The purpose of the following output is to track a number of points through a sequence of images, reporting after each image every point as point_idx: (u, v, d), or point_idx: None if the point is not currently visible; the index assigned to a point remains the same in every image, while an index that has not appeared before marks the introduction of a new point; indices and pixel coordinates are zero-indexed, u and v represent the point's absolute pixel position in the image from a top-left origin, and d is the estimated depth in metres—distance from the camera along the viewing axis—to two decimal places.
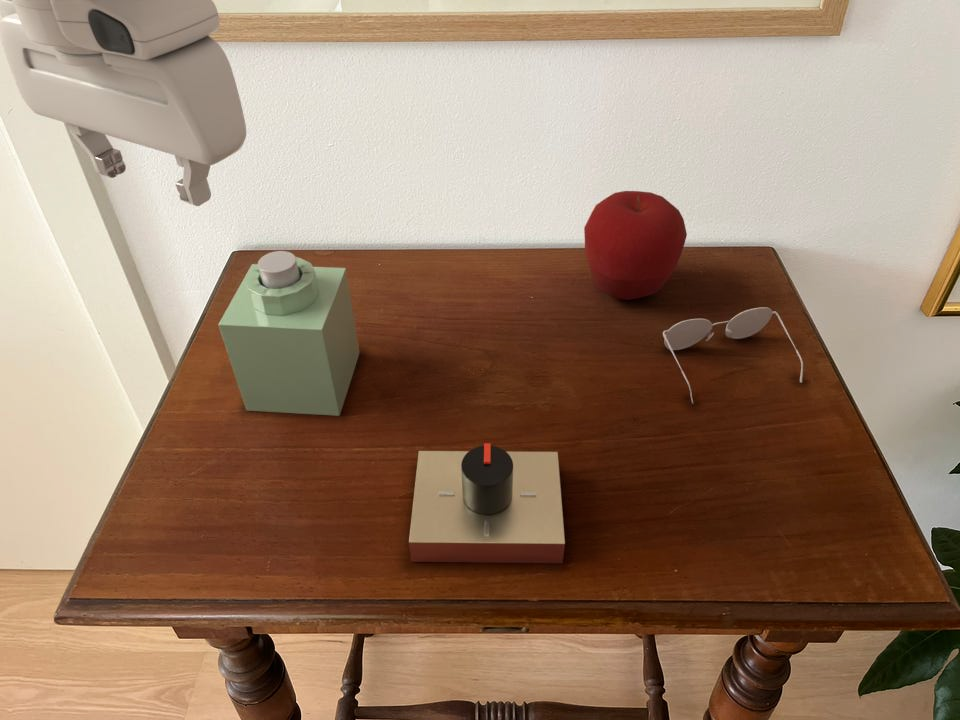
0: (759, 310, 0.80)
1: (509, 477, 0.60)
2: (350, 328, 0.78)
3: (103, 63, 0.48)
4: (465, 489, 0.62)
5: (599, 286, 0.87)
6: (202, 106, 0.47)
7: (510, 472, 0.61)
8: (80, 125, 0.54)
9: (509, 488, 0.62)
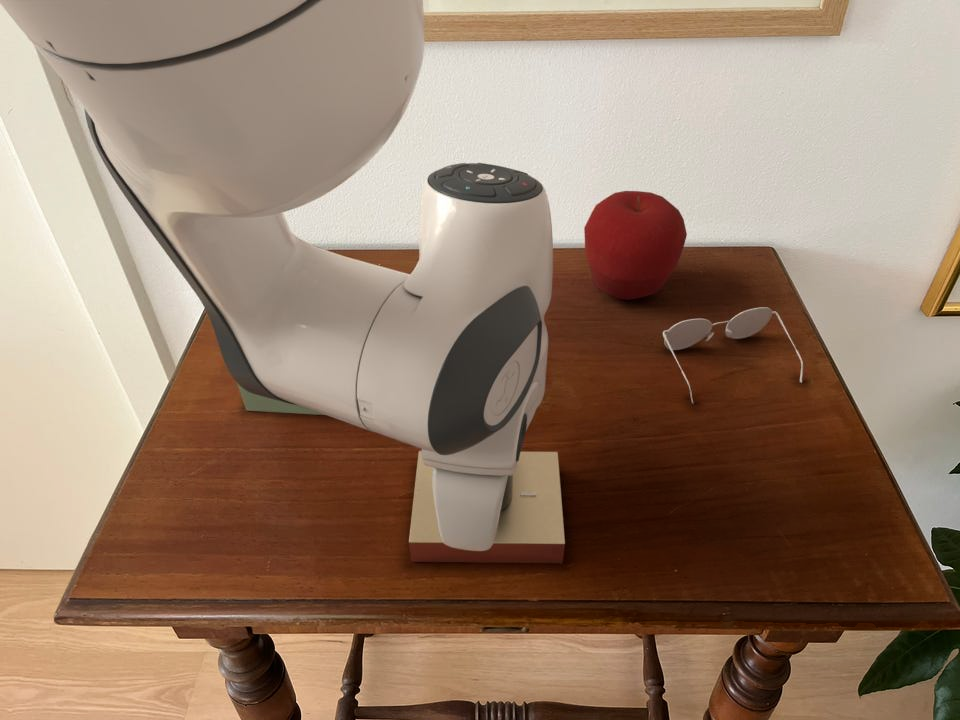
0: (759, 310, 0.80)
1: (509, 477, 0.60)
2: None
3: None
4: None
5: (599, 286, 0.87)
6: (448, 516, 0.50)
7: None
8: None
9: (509, 488, 0.62)
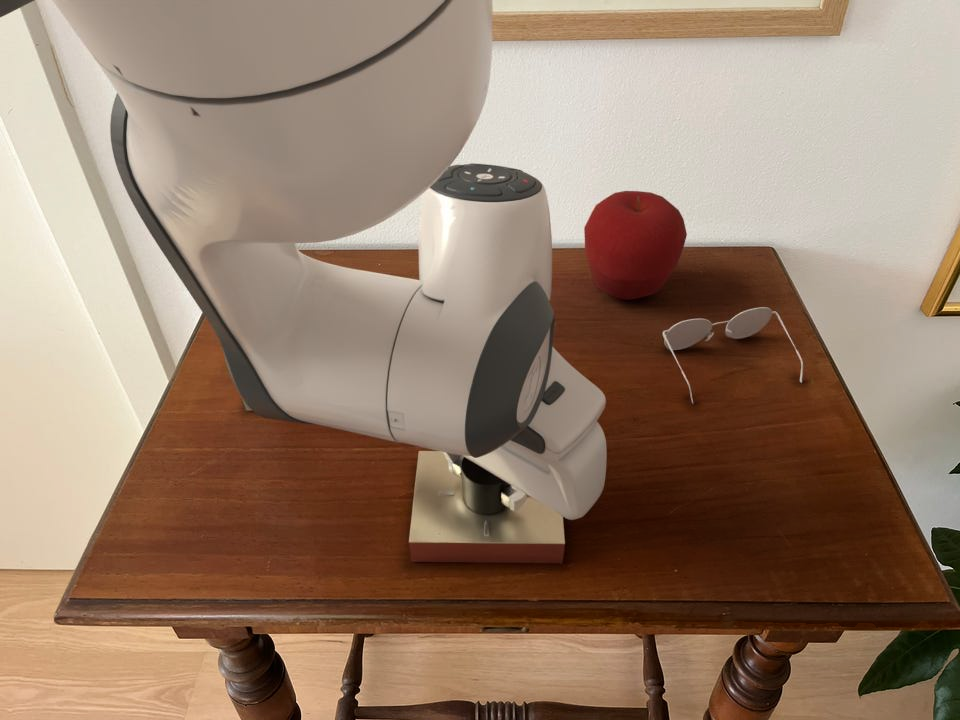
0: (759, 310, 0.80)
1: None
2: None
3: None
4: (487, 499, 0.61)
5: (599, 286, 0.87)
6: (583, 486, 0.52)
7: None
8: None
9: None
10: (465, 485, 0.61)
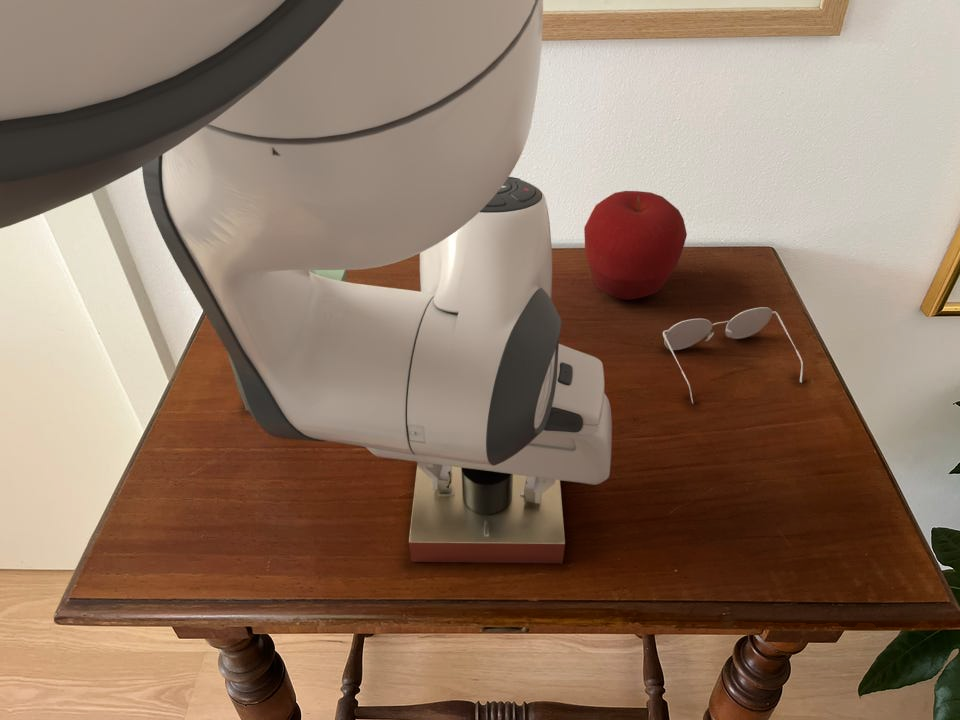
0: (759, 310, 0.80)
1: None
2: None
3: None
4: (499, 496, 0.61)
5: (599, 286, 0.87)
6: (610, 448, 0.55)
7: None
8: (440, 464, 0.59)
9: None
10: (474, 492, 0.61)
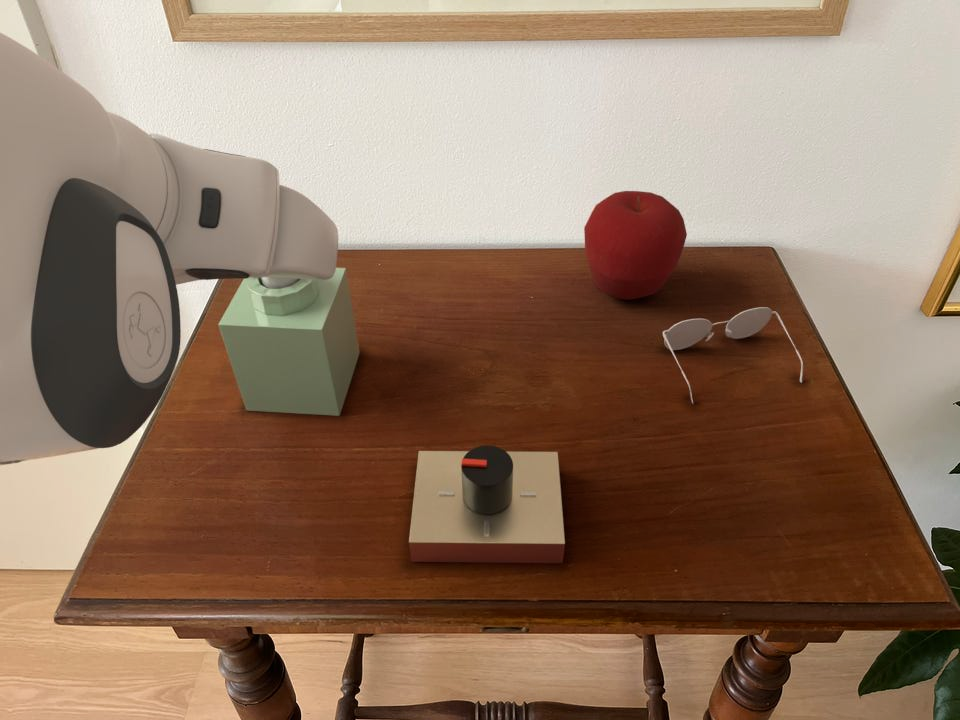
0: (759, 310, 0.80)
1: (502, 450, 0.63)
2: (350, 328, 0.78)
3: None
4: (499, 496, 0.61)
5: (599, 286, 0.87)
6: (315, 259, 0.44)
7: (498, 448, 0.63)
8: None
9: None
10: (474, 492, 0.61)
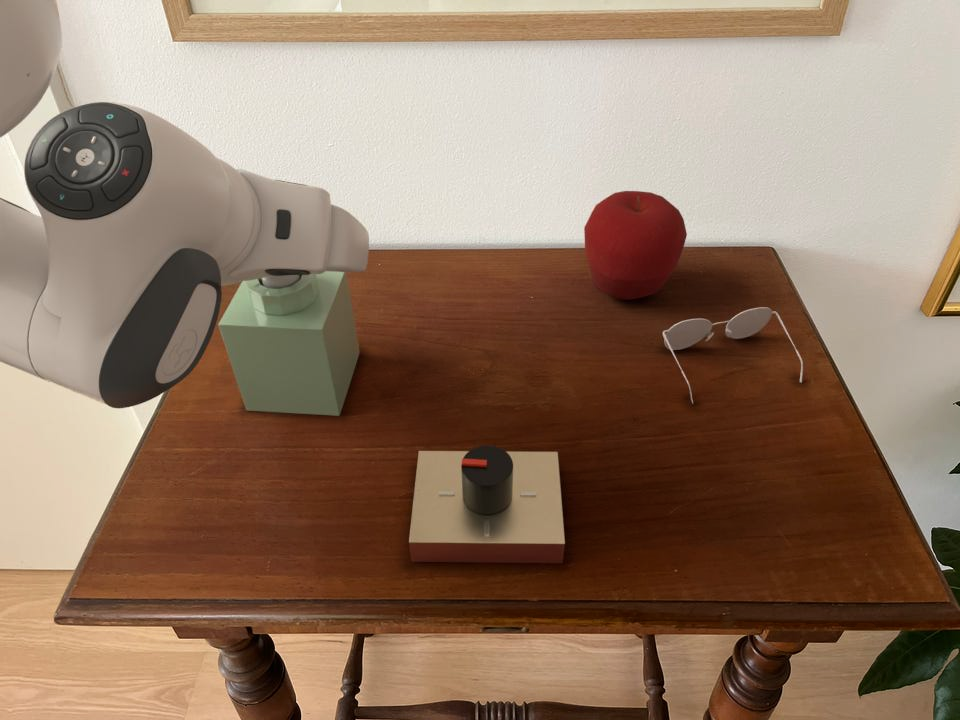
0: (759, 310, 0.80)
1: (502, 450, 0.63)
2: (350, 328, 0.78)
3: None
4: (499, 496, 0.61)
5: (599, 286, 0.87)
6: (354, 258, 0.59)
7: (498, 448, 0.63)
8: None
9: None
10: (474, 492, 0.61)
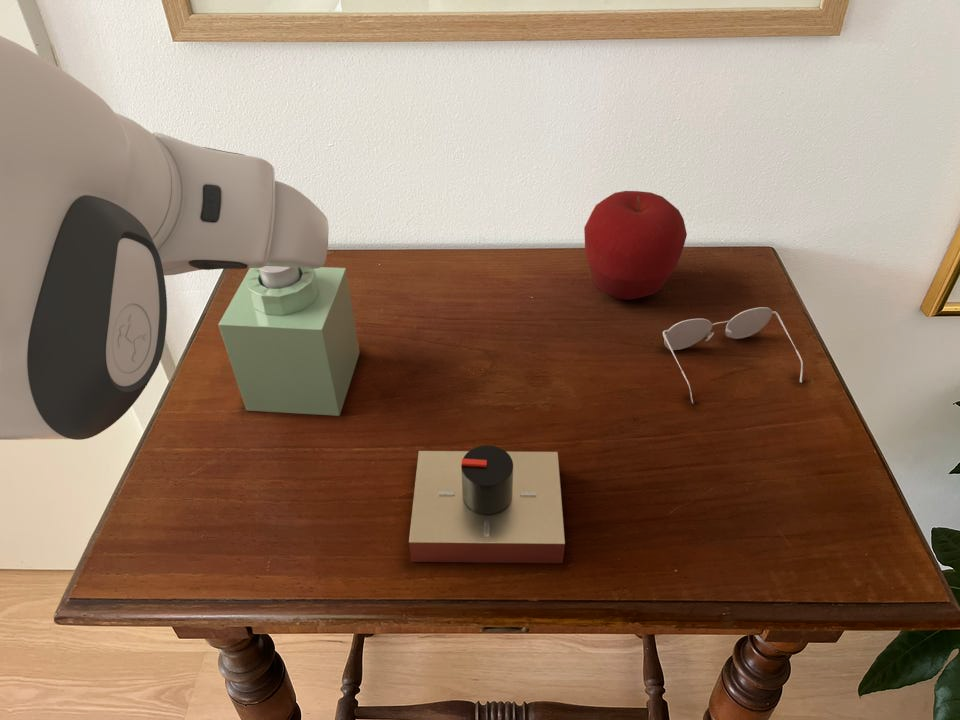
0: (759, 310, 0.80)
1: (502, 450, 0.63)
2: (350, 328, 0.78)
3: None
4: (499, 496, 0.61)
5: (599, 286, 0.87)
6: (308, 250, 0.47)
7: (498, 448, 0.63)
8: None
9: None
10: (474, 492, 0.61)
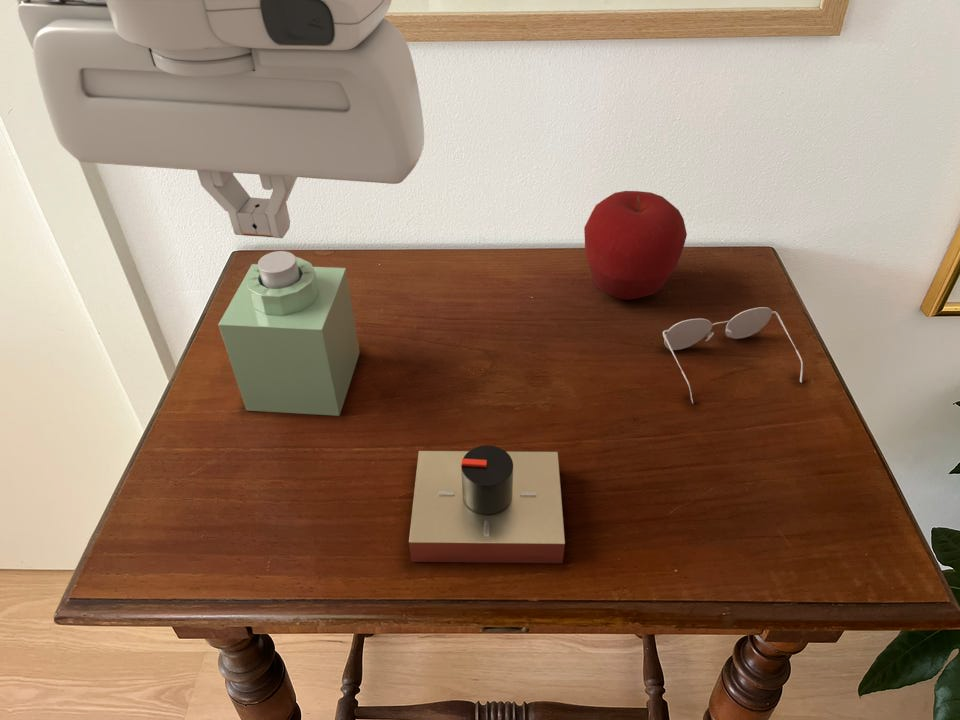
0: (759, 310, 0.80)
1: (502, 450, 0.63)
2: (350, 328, 0.78)
3: (246, 68, 0.35)
4: (499, 496, 0.61)
5: (599, 286, 0.87)
6: (403, 105, 0.36)
7: (498, 448, 0.63)
8: (169, 165, 0.40)
9: None
10: (474, 492, 0.61)
